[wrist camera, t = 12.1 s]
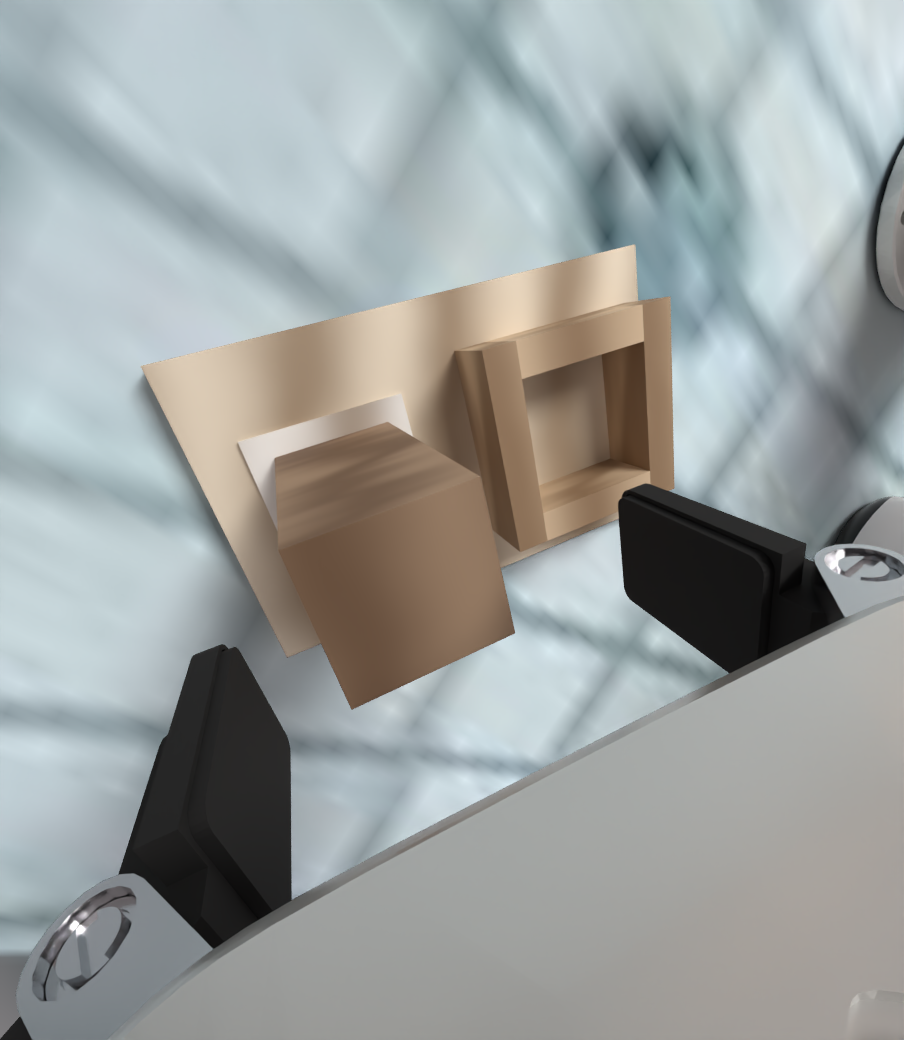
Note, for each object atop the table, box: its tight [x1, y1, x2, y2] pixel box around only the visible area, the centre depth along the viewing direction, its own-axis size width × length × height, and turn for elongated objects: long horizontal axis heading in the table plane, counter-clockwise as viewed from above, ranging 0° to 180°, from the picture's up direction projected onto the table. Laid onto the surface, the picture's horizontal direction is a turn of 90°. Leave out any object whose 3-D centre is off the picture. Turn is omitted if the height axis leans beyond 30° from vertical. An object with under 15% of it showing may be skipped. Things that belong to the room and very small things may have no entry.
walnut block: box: [275, 422, 515, 709], centre depth 16 cm, size 5×5×10 cm
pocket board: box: [141, 245, 674, 658], centre depth 21 cm, size 22×14×4 cm, turn 104°
